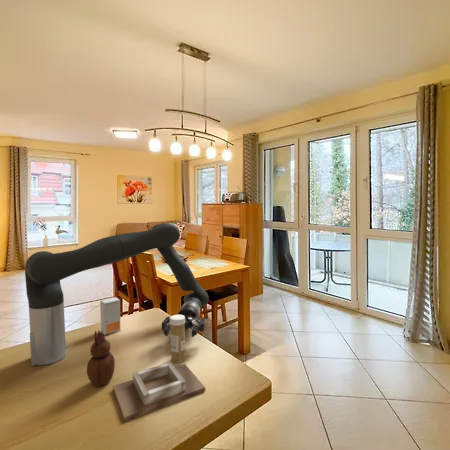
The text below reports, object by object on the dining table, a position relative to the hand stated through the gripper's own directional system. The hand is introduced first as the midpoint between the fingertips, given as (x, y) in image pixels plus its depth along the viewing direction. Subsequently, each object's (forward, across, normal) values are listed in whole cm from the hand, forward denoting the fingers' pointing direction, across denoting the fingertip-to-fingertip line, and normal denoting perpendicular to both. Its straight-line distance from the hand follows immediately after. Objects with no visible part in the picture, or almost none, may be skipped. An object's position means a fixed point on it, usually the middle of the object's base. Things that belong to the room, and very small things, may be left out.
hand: (179, 333), depth 92 cm
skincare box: (-16, -30, +7) cm, 34 cm away
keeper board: (+18, -2, +7) cm, 19 cm away
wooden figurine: (+15, -18, +7) cm, 25 cm away
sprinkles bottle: (+3, 0, +7) cm, 8 cm away
